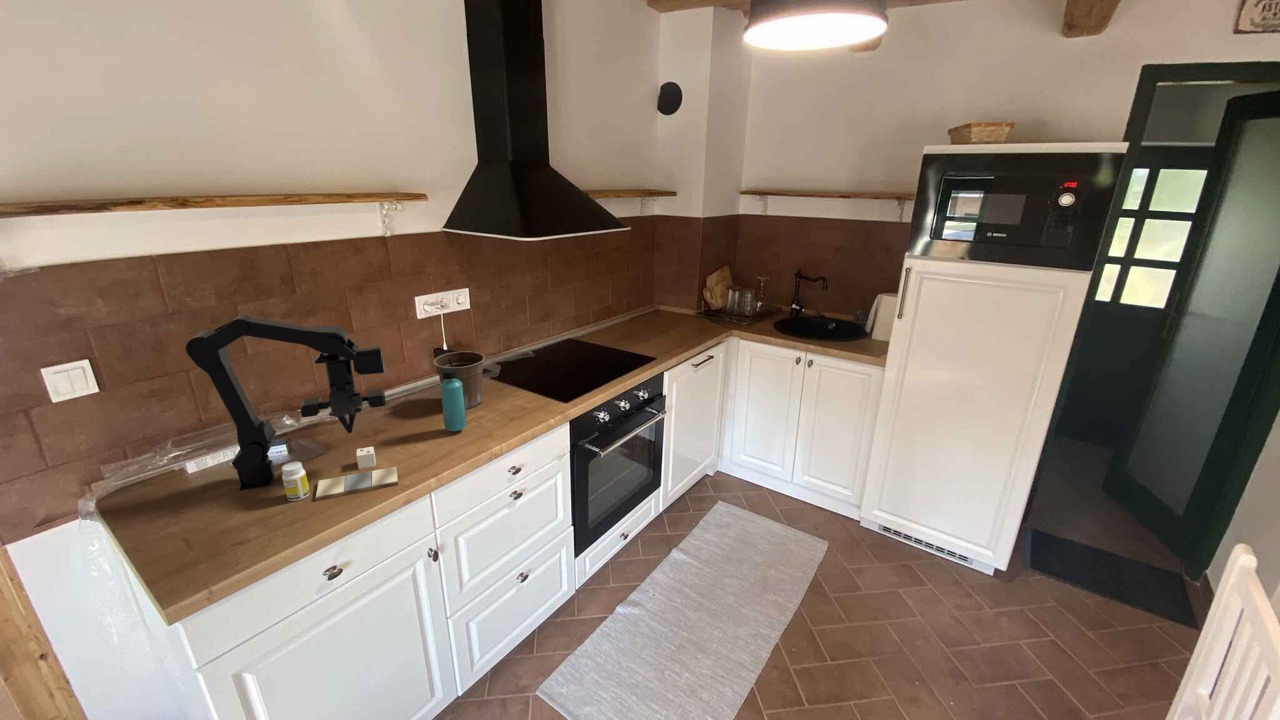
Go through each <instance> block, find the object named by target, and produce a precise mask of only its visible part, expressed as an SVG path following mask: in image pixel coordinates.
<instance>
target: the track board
mask: <svg viewBox="0 0 1280 720" xmlns="http://www.w3.org/2000/svg"><path fill="white" fill-rule="evenodd" d="M398 474H399V473H398V467H397V466H391V467H385V468H380V469H376V470H374V469H373V470H370V471H365V472H358V473H353V474H348V475H343V476H342V475H341V476H337V477H336V476H335V477H332V478H325V479H320V480H318V482H317V487H316V494H315V501H316V502H318V501H324V500H327V499H333V498H339V497H342V496H349V495H353V494H358V493H364V492H368V491H373V490H377V489H378V490H379V489H383V488H388V487H395V486H397V485H399V475H398Z"/></svg>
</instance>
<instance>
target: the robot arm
mask: <svg viewBox="0 0 1280 720" xmlns="http://www.w3.org/2000/svg"><path fill="white" fill-rule="evenodd" d="M244 336H245V337H252V338H258V339H263V340H271V341H275V342H276V341H278V342H284V343H291V344H295V345H302V346H305V347H308V348H310V349H312V350H314V351H316V352H320V353H319V355H318V356H316V359H315V360H314V364H316V365H319V364H324V368H325V374H326V379H327V384H328V388H329V389H328V390H329V395H328V400H324V401H323V400H322V398H321V397H320V396H319V397H311V398H304V399H303V401H302V402H301V406H300V413H301V417H302V418H308V417H309V418H310V417H316V416H318V415H319V414H320V412H321V411H320V410H325V409H327V410H328V411H329V412H328V416H329V417H334V418H336V419H338V421H339V422H340V424H341V425H342V426H343V428H344V429H345V431H346V432H347V434H352V433H353V428H354V422H355V420H356V416H357V414H358V413H361V412H363V404H368V406H369V407H370V408H372V409H375V408H380V407H384V406H386V405H387V403H386V402H387V401H386V399H387V398H386V394H385V393H386V391H385V390H384V389H381V388H380V389H373V390H372V389H371V390H367V395H362V394H361V392H357V389H356V384H355V378H354V373H357V375H359V376H367V375H369V376H370V375H377V374H385V373H386V366H385V365H386V364H385V359H384V358H385V357H384V355H383V353H382V348H381V346H374V347H371V348H359V346H358V345H357V344H356V343H355V342H354V341H353V340H352V339H351V338H349V335H348V333H347V331H346V330H345V329H344V328H343V327H340V326H337V325H318V326H317V325H316V326H315V325H314V326H303V325H297V324H293V323H292V324H291V323H286V322H280V321H275V320H269V319H262V318H257V317H252V316H249V315H238V316H236V317H235V318H234V319H232V320H230V321H229V322H227V323H224V324H222V325H220V326H219V327H217V328H215V329H204V330H202V331H200V332H198V333H197V334H196V335H195V336H193V337H192V338H191V339H190V340H188V341H187V343H186V345H185V353H186V354H187V356H188V357H189V358H190V360H191V361H192V363H194V364H195V366H196V367H198V368H199V369H200V370H201V371H203V372H205V373H206V374H207V375H208V377H209V378H210V381H211V382H212V385H213V387H214V388H215V390H216V392H217V394H218V395H219V398H220V399H221V401H222V403H223V405H224V407H225V408H226V410H227V412H228V414H229V416H230V417H231V419H232V421H233V423H234V425H235V427H236V434H237V435H236V436H237V437H236V438H237V444H238V447H239V450H238V451H237V453H236V454H235V457H234V459H233V460H232V462H231V465H232V466H233V467H234V469H235V470H236V473H237V475H238V479H239V486H238V489H239V491H243V490H244V491H245V490H248V489H249V490H250V489H255V488H260V487H264V486H265V487H266V486H271V484H272V481H273V480H274V478H275V475H276V470H275V466H274V462H273V460H272V459H270V458H269V452H270V450H271V448H272V445H273V444H274V441H275V440H276V439H275V438H276V436H275V435H276V433H277V430H275V429H274V428H273V426H272V422H271V420H270V419H268V418H267V419H266V420H262V419H261V418H259V417H258V416H257V414H256V412H255V410H254V408H253V406H252V405H251V402H250V401H249V398H248V397H247V394H246V392H245V391H244V388H243V387H242V385H241V383H240V381H239V379H238V377H237V375H236V374H235V372H234V369H233V367H232V365H231V357H230V350H229V345H230V344H232V343H233V342H235V341H237V340H239V339H240V338H241V337H244ZM352 362H353V367H352ZM353 369H354V373H353ZM347 415H348V417H347Z"/></svg>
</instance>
